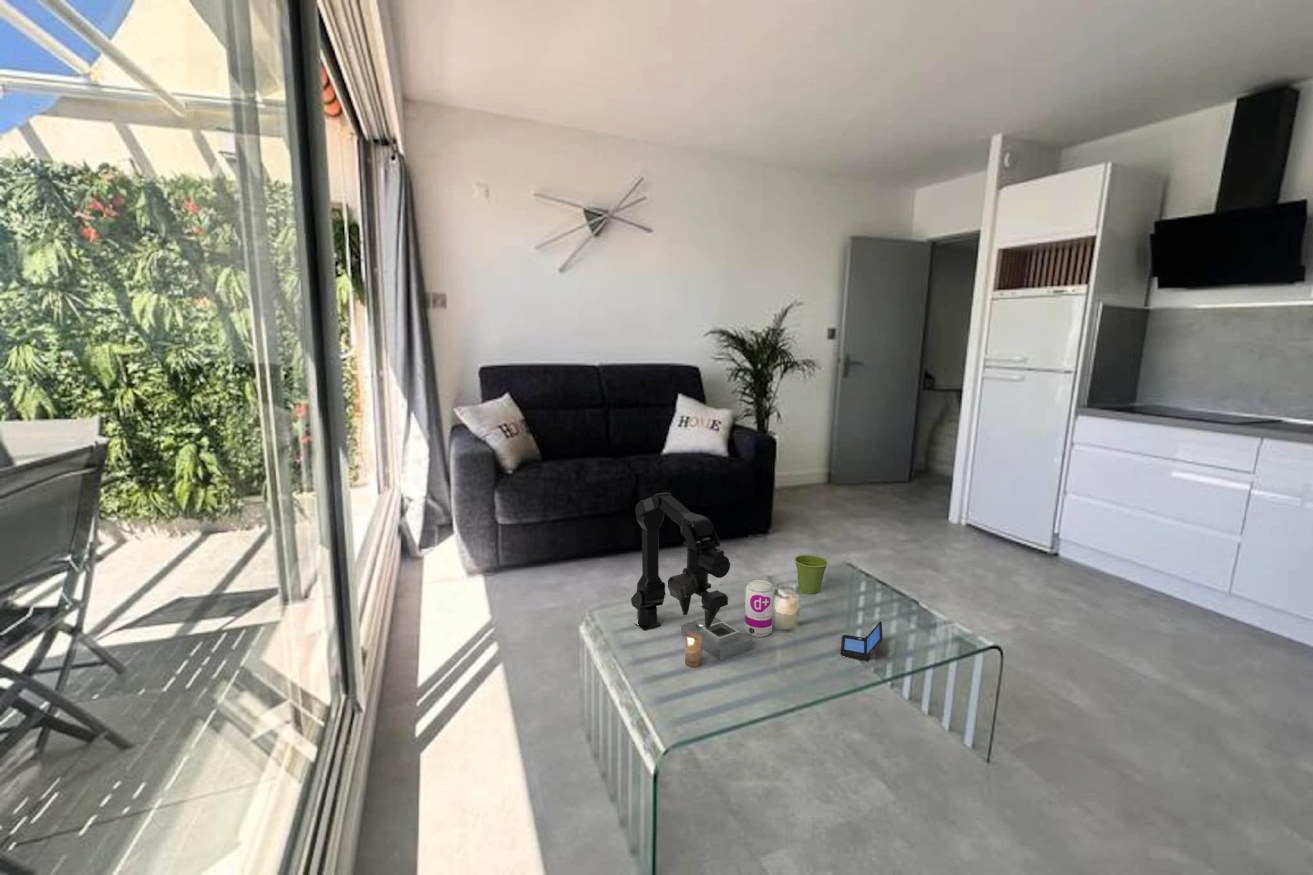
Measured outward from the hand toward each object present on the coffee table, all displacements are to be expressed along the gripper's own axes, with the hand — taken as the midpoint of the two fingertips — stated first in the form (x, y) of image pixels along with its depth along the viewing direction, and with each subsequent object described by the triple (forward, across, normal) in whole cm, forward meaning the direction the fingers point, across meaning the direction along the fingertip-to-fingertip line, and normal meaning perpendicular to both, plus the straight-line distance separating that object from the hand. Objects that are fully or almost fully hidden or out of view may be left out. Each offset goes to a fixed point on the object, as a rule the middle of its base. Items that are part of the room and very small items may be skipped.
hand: (696, 621), depth 156 cm
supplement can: (+12, -3, +28) cm, 30 cm away
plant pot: (+12, -15, +66) cm, 69 cm away
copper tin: (+12, 0, 0) cm, 12 cm away
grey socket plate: (+12, -6, +13) cm, 18 cm away
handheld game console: (+12, +22, +44) cm, 50 cm away
